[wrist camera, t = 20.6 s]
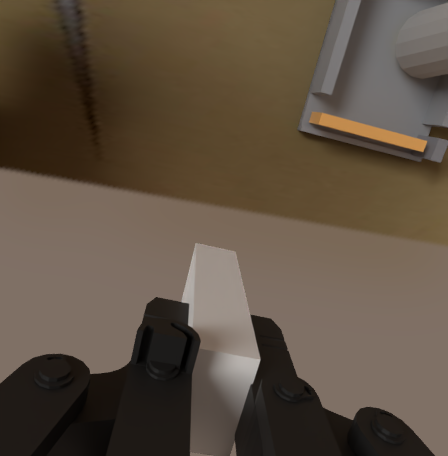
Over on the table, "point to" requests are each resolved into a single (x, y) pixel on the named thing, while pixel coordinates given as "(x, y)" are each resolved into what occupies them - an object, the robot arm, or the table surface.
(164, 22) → the table surface
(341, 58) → the box
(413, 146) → the orange long flat block
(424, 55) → the soap bottle
